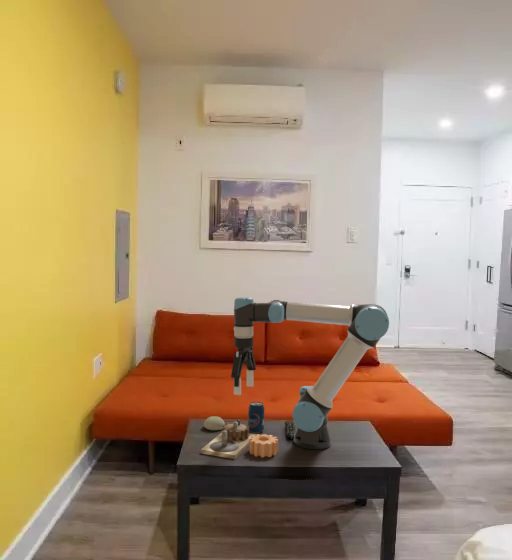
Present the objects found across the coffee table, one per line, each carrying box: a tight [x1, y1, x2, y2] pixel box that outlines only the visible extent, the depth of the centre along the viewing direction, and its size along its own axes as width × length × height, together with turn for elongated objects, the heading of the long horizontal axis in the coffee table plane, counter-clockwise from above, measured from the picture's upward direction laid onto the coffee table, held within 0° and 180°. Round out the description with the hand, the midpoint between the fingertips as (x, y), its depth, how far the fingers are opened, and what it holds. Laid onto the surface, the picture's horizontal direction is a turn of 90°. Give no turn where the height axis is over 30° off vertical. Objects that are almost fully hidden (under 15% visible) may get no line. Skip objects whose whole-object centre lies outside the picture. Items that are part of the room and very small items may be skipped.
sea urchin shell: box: [203, 415, 226, 432], centre depth 217 cm, size 9×8×8 cm
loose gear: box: [248, 433, 279, 458], centre depth 192 cm, size 11×11×5 cm
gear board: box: [200, 419, 257, 460], centre depth 197 cm, size 14×24×8 cm, turn 161°
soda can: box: [247, 401, 265, 434], centre depth 215 cm, size 7×7×12 cm
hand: (243, 390), depth 195 cm, fingers open, 13 cm apart
